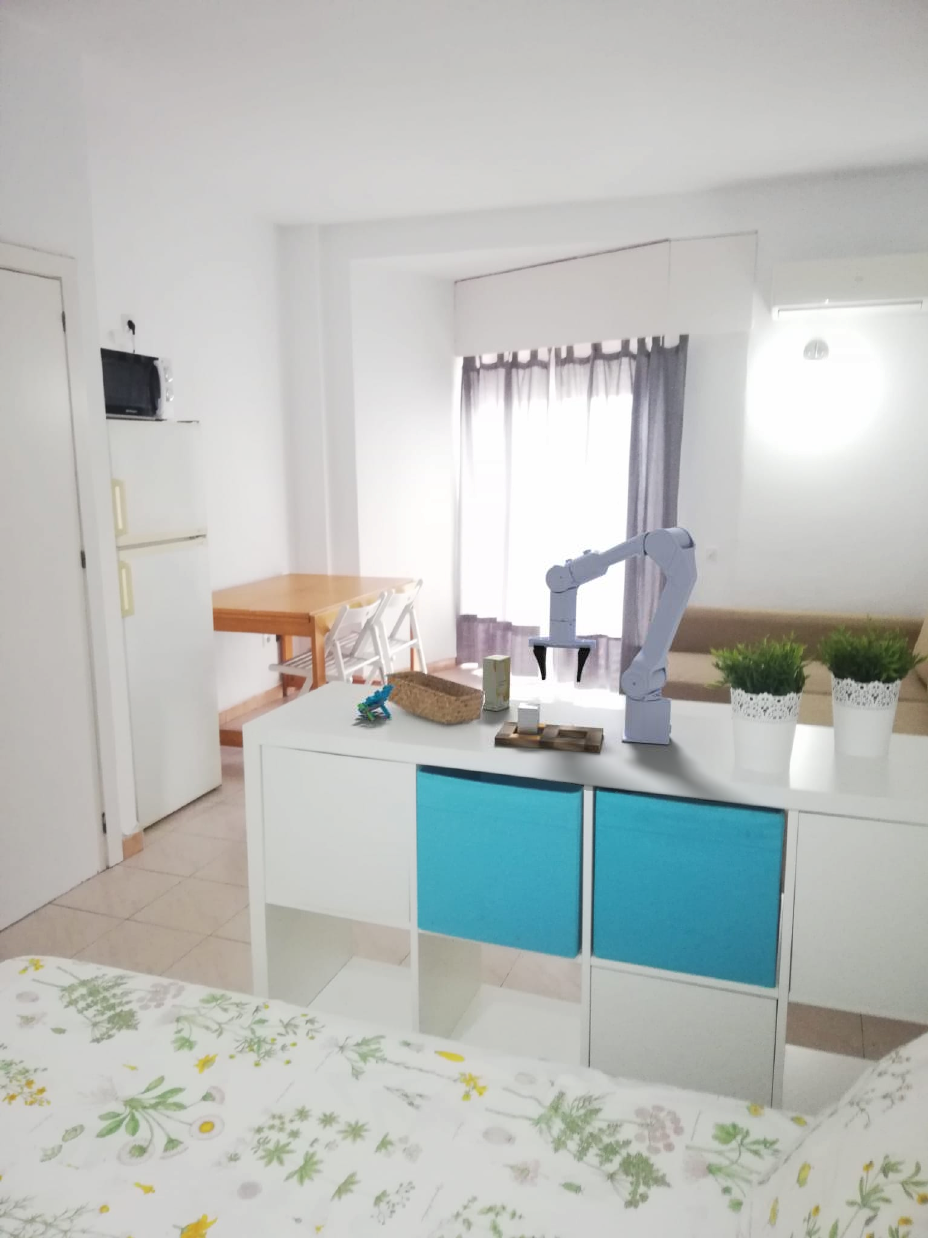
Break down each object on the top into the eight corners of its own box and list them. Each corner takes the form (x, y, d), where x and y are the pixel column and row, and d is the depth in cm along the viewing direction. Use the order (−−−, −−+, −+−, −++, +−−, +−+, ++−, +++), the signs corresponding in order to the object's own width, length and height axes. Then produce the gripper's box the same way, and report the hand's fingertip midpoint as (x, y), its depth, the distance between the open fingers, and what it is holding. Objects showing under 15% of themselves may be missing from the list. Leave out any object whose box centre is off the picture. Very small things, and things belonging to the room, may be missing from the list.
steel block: (539, 736, 179) (539, 703, 178) (536, 742, 175) (537, 708, 174) (520, 735, 180) (520, 702, 179) (517, 740, 176) (517, 707, 175)
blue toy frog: (380, 700, 200) (399, 676, 194) (395, 720, 199) (414, 697, 193) (346, 716, 192) (364, 692, 186) (360, 737, 191) (379, 713, 185)
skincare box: (497, 712, 197) (498, 660, 195) (481, 709, 199) (481, 658, 197) (510, 706, 203) (511, 655, 201) (494, 703, 205) (495, 653, 203)
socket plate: (603, 735, 180) (603, 727, 180) (599, 752, 168) (599, 744, 168) (505, 728, 185) (505, 720, 184) (494, 744, 173) (494, 736, 173)
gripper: (597, 618, 188) (595, 678, 191) (532, 615, 192) (531, 674, 194) (595, 623, 182) (593, 685, 184) (527, 620, 185) (526, 681, 187)
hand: (561, 680), depth 188 cm, fingers open, 7 cm apart
